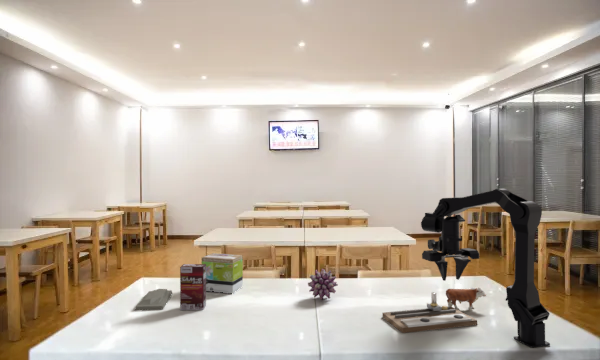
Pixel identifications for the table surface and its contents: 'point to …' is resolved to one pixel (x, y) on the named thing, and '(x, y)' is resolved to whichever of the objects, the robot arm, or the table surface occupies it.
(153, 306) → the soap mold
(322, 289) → the purple spiky ball
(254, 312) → the table surface
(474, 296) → the bull figurine
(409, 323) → the brown flat wooden board
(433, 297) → the sliding handle
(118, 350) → the table surface
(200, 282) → the supplement box
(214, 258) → the tea box
